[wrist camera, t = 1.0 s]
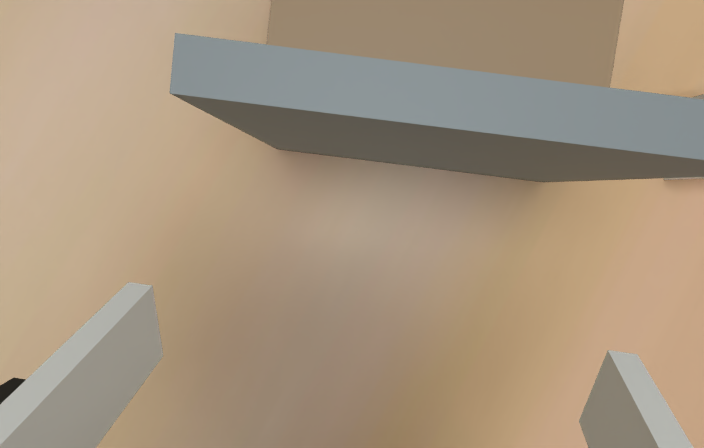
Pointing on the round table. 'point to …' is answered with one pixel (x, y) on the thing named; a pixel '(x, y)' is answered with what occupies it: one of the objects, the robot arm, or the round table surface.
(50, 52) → the round table surface
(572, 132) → the board
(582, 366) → the round table surface
